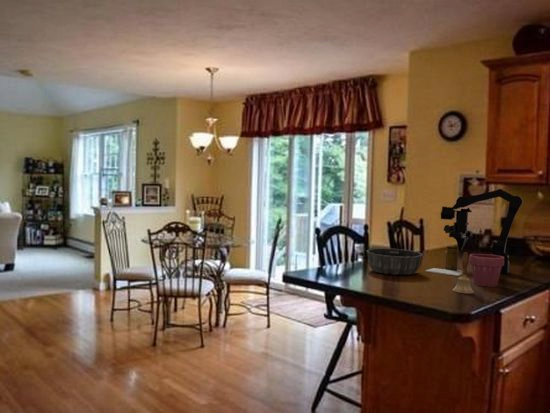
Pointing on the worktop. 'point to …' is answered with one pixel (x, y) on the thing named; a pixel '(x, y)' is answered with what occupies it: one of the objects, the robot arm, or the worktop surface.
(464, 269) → the hand bell
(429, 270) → the mat
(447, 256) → the condiment
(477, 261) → the plant pot
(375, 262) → the bundt pan
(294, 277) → the worktop surface
